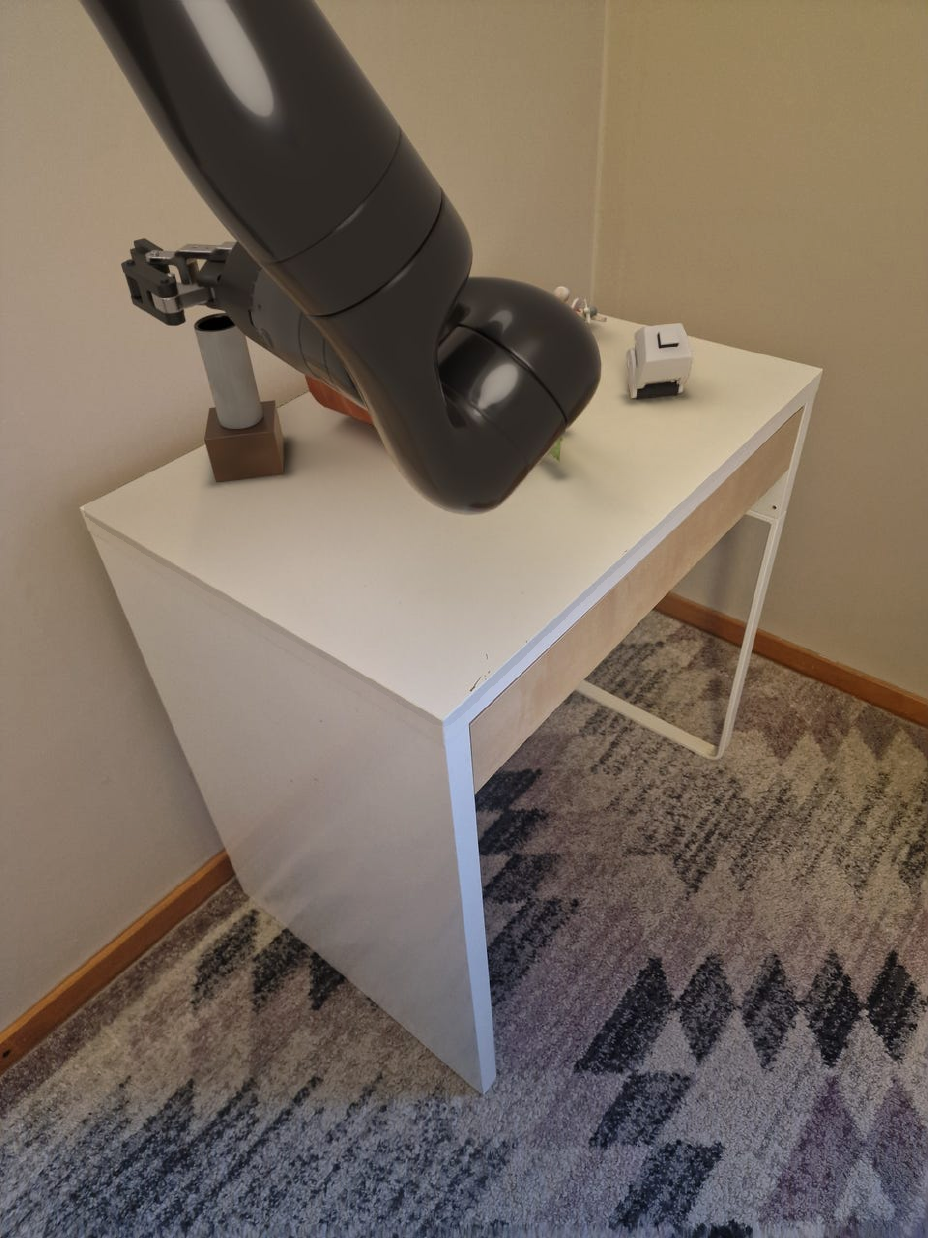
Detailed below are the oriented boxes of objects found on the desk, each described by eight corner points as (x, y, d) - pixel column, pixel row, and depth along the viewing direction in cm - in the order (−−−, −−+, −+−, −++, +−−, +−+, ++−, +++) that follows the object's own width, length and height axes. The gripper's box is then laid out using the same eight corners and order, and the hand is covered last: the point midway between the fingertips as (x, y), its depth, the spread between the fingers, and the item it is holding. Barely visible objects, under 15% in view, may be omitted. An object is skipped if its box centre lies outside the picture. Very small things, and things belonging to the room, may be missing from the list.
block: (215, 482, 89) (203, 439, 86) (220, 449, 94) (208, 407, 91) (283, 473, 89) (273, 431, 86) (284, 441, 95) (275, 399, 91)
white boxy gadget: (626, 408, 100) (648, 370, 90) (617, 355, 101) (637, 312, 91) (675, 403, 100) (702, 364, 90) (666, 350, 101) (691, 306, 91)
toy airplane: (539, 352, 108) (539, 302, 104) (521, 325, 115) (521, 277, 111) (608, 343, 110) (610, 292, 105) (586, 317, 116) (588, 268, 112)
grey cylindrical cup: (262, 406, 90) (240, 309, 84) (264, 425, 87) (241, 327, 80) (219, 412, 90) (193, 315, 83) (219, 432, 86) (192, 333, 80)
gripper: (410, 207, 50) (281, 160, 60) (182, 267, 44) (80, 204, 54) (420, 332, 55) (299, 269, 65) (217, 401, 49) (118, 320, 59)
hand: (200, 240), depth 59 cm, fingers open, 8 cm apart
